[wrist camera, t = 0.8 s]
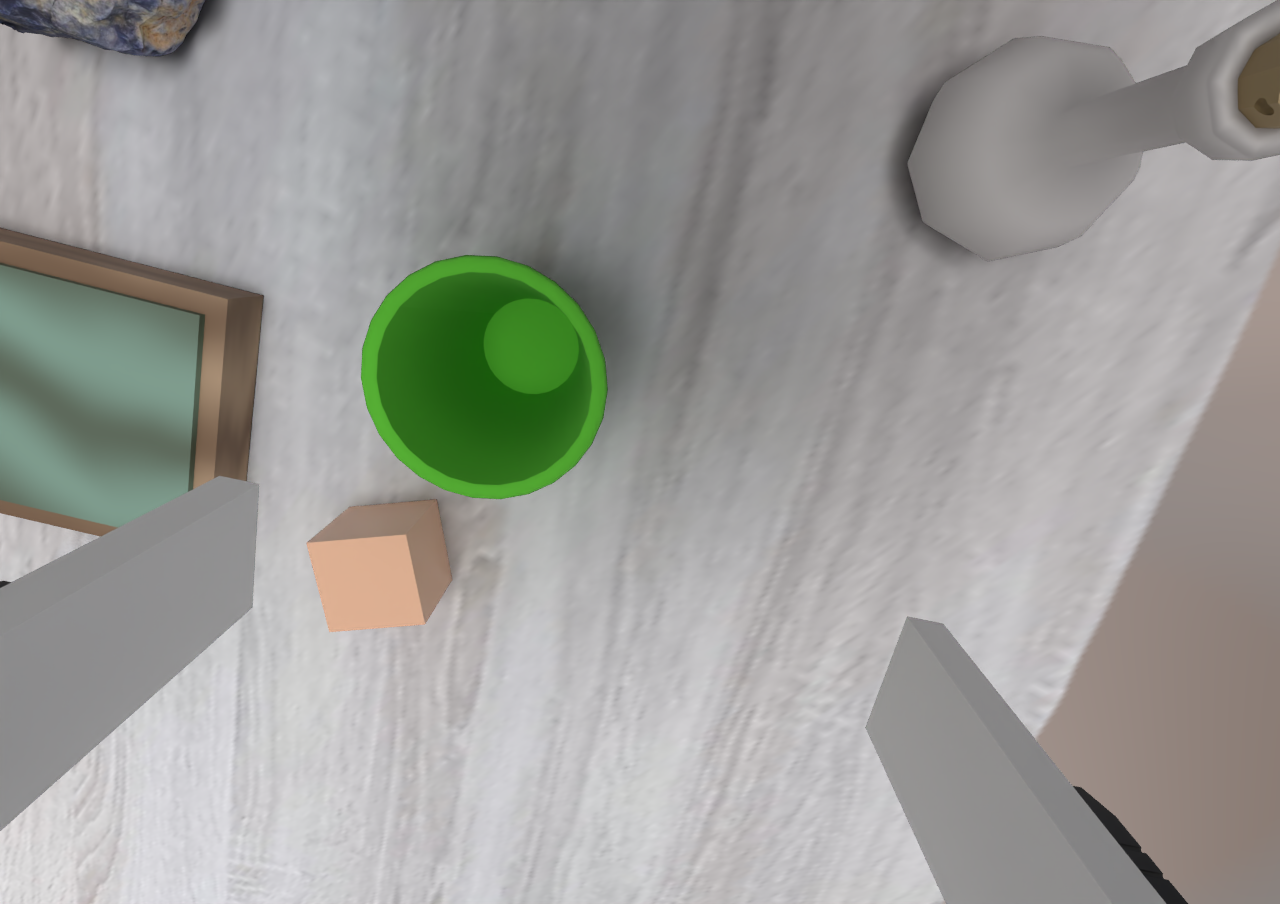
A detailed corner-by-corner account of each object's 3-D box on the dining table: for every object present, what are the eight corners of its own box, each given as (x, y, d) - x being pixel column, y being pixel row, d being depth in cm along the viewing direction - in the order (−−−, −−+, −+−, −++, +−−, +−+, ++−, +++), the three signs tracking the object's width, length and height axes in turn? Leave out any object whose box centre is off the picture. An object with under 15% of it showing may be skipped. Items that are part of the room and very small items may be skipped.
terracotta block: (350, 506, 37) (306, 542, 33) (437, 498, 37) (406, 534, 32) (368, 585, 39) (329, 632, 34) (452, 578, 39) (424, 624, 34)
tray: (-16, 223, 33) (-88, 220, 30) (263, 295, 34) (222, 299, 31) (-10, 479, 37) (-73, 500, 34) (240, 538, 38) (202, 564, 35)
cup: (540, 462, 36) (496, 546, 26) (411, 346, 35) (308, 386, 24) (655, 344, 35) (658, 383, 24) (525, 216, 33) (466, 197, 22)
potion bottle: (1112, 144, 32) (1670, 11, 14) (975, 294, 34) (1318, 336, 16) (984, 14, 30) (1434, -308, 13) (849, 180, 32) (1080, 93, 15)
